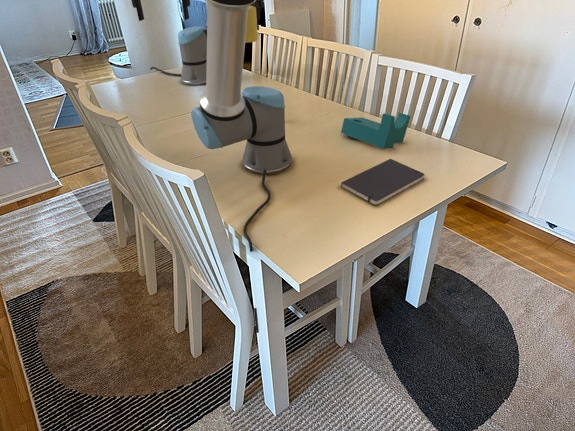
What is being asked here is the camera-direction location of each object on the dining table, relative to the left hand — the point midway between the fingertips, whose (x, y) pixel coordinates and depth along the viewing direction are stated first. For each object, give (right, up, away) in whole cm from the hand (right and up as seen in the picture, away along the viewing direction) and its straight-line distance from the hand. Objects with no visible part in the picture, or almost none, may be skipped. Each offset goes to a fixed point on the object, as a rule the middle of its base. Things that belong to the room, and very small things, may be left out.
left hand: (246, 31), depth 152 cm
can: (0, -3, +2) cm, 3 cm away
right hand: (-21, -11, -32) cm, 40 cm away
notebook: (+43, -60, -37) cm, 83 cm away
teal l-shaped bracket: (+45, -43, -13) cm, 64 cm away
